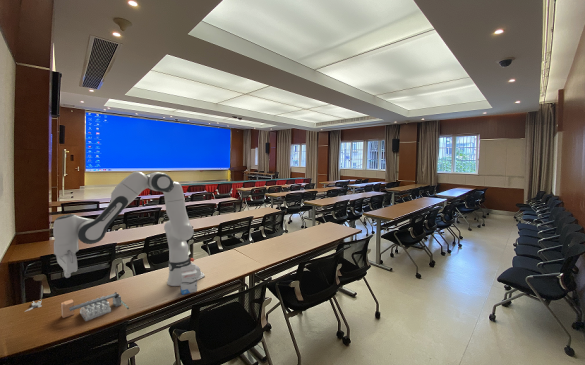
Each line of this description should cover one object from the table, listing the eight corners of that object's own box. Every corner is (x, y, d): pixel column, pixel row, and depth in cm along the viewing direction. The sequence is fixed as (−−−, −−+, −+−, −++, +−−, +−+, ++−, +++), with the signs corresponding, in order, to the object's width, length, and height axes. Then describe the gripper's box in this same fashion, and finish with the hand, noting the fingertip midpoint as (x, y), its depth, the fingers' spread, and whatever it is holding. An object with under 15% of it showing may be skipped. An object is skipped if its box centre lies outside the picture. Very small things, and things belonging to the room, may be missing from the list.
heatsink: (116, 300, 134) (116, 291, 134) (123, 307, 128) (122, 298, 128) (80, 313, 122) (79, 303, 122) (85, 321, 116) (85, 311, 116)
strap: (116, 294, 131) (116, 291, 131) (119, 296, 129) (119, 294, 129) (68, 309, 116) (68, 306, 116) (70, 311, 114) (70, 309, 114)
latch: (72, 311, 123) (72, 297, 123) (75, 316, 119) (75, 301, 119) (61, 315, 120) (61, 300, 120) (64, 320, 116) (63, 305, 116)
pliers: (17, 317, 118) (23, 303, 130) (18, 320, 118) (23, 306, 130) (47, 309, 125) (49, 297, 136) (47, 312, 125) (49, 300, 136)
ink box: (182, 295, 142) (181, 270, 141) (180, 291, 146) (180, 267, 145) (197, 291, 147) (197, 267, 146) (195, 287, 151) (195, 264, 150)
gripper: (81, 251, 116) (82, 280, 117) (69, 242, 128) (70, 269, 129) (63, 255, 111) (64, 285, 112) (52, 245, 123) (53, 273, 124)
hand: (67, 276), depth 121 cm, fingers closed
